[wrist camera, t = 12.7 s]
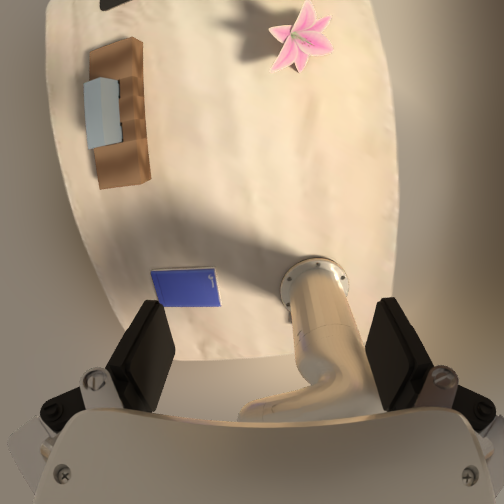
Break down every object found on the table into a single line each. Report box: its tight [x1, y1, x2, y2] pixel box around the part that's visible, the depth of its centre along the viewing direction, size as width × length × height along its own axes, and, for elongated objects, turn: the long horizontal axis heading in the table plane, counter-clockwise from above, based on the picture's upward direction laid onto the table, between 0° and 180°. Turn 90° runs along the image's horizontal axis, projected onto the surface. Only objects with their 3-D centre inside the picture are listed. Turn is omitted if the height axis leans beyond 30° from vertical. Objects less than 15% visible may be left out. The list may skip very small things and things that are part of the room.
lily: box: [269, 0, 334, 73], centre depth 29 cm, size 12×12×10 cm
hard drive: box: [151, 267, 222, 307], centre depth 51 cm, size 2×8×12 cm
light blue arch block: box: [84, 77, 123, 149], centre depth 33 cm, size 10×3×9 cm, turn 3°
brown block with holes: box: [90, 37, 151, 190], centre depth 35 cm, size 24×8×4 cm, turn 2°
